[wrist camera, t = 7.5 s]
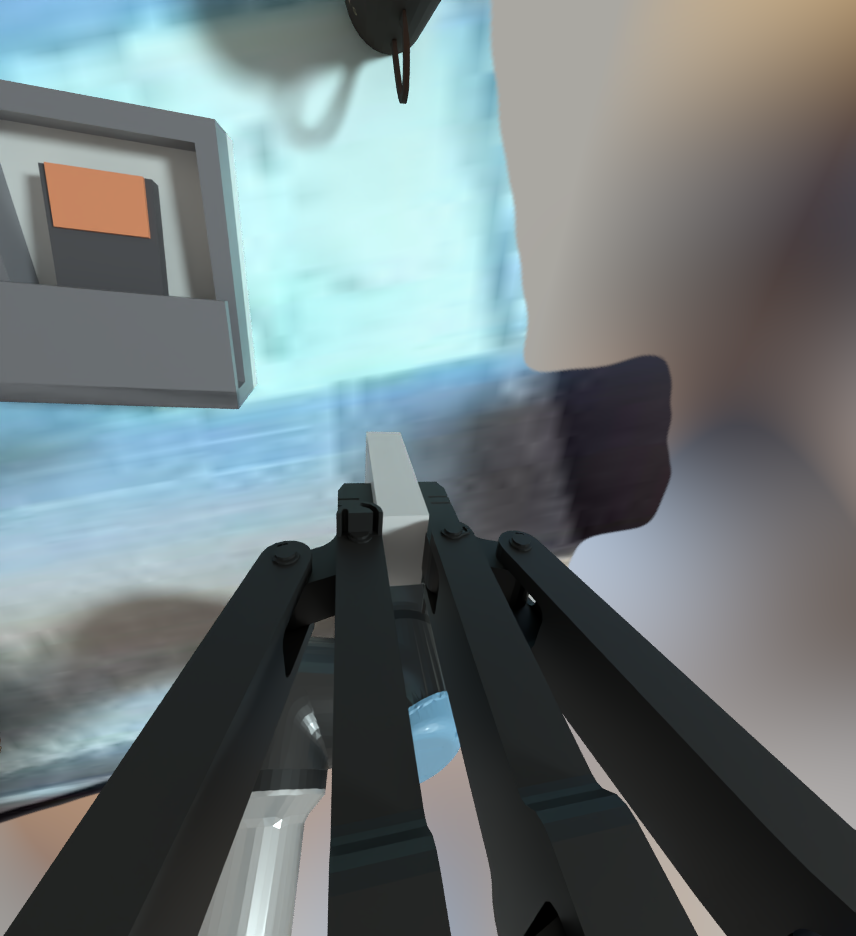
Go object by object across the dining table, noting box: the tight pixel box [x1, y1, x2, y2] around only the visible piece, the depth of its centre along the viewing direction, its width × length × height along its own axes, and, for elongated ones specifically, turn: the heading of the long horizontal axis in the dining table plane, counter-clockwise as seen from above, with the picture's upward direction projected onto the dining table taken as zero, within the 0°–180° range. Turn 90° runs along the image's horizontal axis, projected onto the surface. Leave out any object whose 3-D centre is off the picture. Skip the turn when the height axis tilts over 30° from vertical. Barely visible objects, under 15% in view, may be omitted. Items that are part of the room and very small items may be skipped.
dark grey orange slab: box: [38, 162, 169, 296], centre depth 29 cm, size 12×7×1 cm, turn 174°
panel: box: [0, 80, 258, 409], centre depth 30 cm, size 20×17×8 cm
